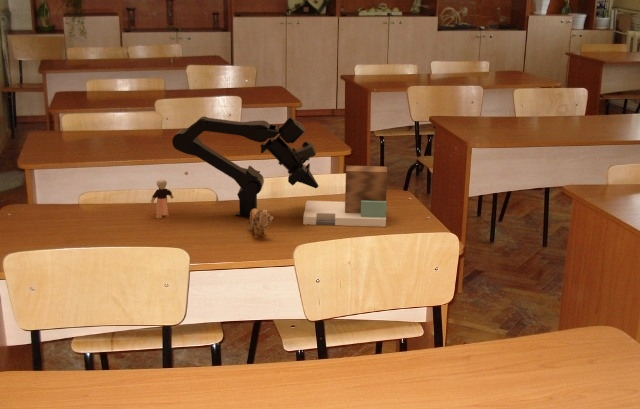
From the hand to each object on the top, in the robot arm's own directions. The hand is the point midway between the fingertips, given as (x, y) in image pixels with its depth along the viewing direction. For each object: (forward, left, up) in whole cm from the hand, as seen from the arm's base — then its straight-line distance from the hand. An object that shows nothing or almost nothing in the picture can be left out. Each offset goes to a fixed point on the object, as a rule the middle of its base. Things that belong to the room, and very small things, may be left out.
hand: (317, 187), depth 252 cm
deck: (+3, -9, -10) cm, 13 cm away
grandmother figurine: (-21, +45, -10) cm, 51 cm away
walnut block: (+5, -15, -7) cm, 17 cm away
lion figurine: (-21, +10, -10) cm, 26 cm away
